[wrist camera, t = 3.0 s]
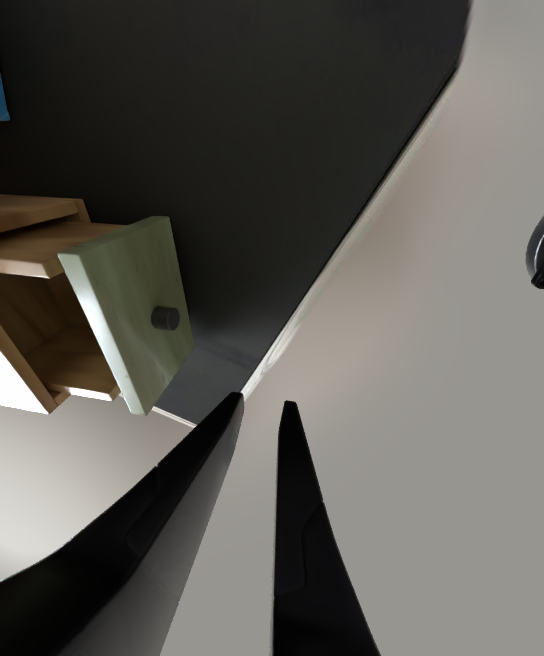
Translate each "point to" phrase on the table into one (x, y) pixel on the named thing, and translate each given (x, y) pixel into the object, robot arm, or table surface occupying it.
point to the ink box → (3, 105)
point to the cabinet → (3, 356)
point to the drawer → (96, 307)
